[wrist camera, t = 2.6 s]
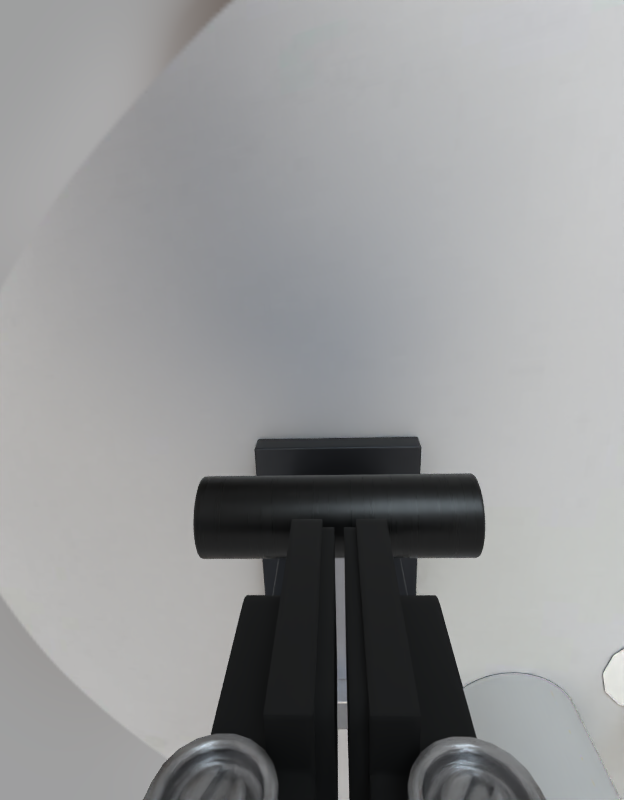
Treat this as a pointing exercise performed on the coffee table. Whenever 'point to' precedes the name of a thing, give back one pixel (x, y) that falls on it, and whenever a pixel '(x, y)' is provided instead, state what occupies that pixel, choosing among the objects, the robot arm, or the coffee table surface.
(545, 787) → the white tall cylinder
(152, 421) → the coffee table surface
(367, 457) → the switch bracket
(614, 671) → the toy figurine
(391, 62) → the coffee table surface
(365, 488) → the switch lever
